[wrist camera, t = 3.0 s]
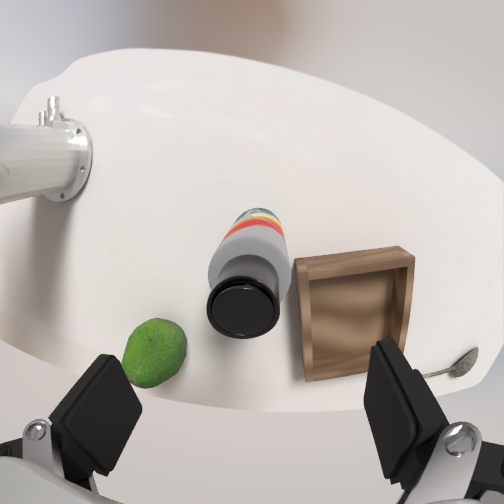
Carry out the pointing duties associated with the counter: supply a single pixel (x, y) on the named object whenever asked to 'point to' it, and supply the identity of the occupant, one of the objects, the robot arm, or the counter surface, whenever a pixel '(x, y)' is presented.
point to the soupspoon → (459, 365)
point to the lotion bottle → (249, 276)
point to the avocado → (154, 353)
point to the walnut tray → (352, 308)
